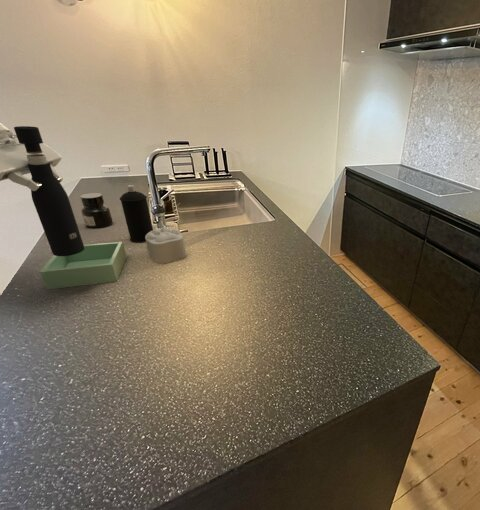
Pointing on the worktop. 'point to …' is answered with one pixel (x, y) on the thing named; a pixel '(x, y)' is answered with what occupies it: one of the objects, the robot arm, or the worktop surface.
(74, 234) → the black water bottle
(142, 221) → the aerosol can
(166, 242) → the lumpy-topped squat cylinder
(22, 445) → the worktop surface
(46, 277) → the green square tray
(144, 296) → the worktop surface
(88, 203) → the ink bottle
